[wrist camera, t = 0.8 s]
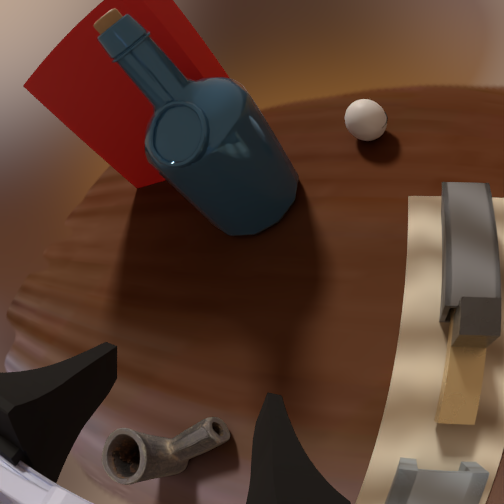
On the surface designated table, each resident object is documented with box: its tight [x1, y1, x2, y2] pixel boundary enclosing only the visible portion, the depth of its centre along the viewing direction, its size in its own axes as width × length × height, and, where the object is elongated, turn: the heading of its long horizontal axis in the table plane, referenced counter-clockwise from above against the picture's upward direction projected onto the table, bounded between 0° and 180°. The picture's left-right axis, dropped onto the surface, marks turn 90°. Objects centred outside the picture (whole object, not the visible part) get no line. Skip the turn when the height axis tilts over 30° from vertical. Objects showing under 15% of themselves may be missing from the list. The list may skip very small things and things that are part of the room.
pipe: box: [102, 417, 230, 485], centre depth 26 cm, size 6×13×8 cm, turn 119°
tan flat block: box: [434, 297, 501, 425], centre depth 19 cm, size 20×3×7 cm, turn 164°
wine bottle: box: [93, 8, 299, 236], centre depth 30 cm, size 14×13×30 cm
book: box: [24, 0, 229, 188], centre depth 42 cm, size 27×8×32 cm, turn 78°
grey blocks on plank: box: [356, 182, 504, 504], centre depth 19 cm, size 31×12×6 cm, turn 164°
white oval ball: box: [345, 97, 387, 141], centre depth 36 cm, size 8×6×6 cm
